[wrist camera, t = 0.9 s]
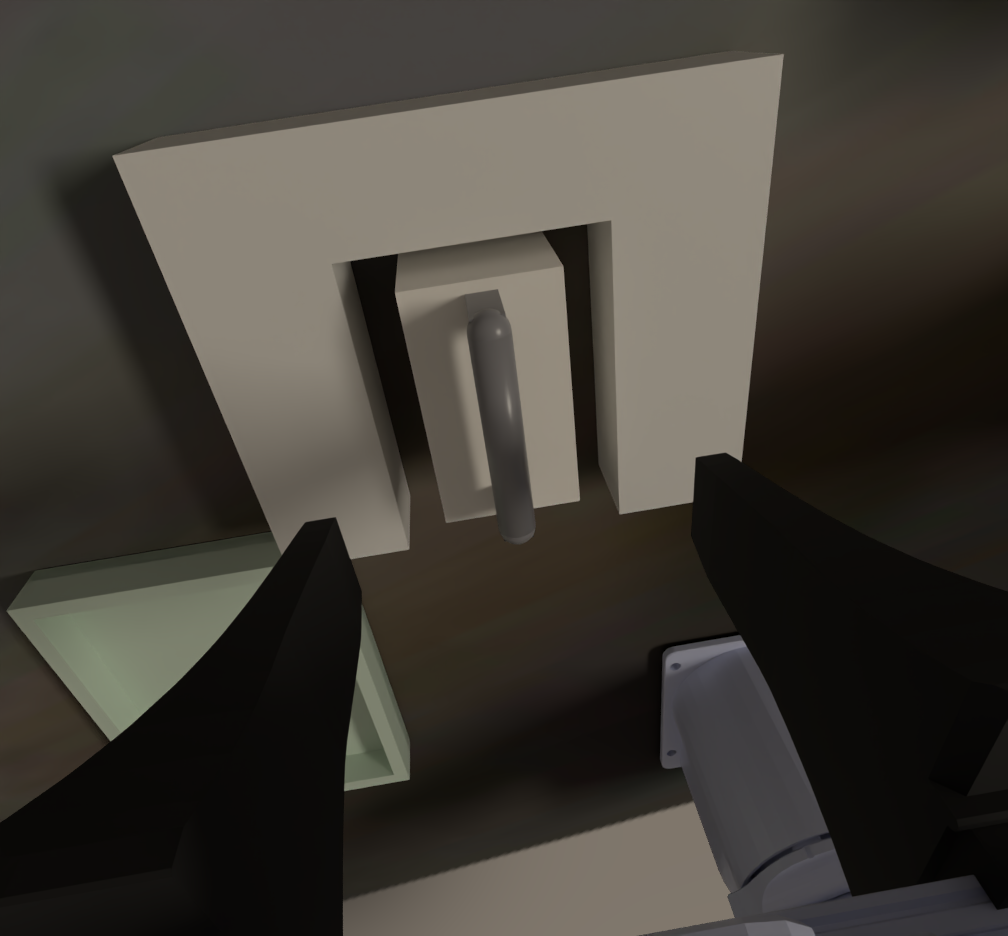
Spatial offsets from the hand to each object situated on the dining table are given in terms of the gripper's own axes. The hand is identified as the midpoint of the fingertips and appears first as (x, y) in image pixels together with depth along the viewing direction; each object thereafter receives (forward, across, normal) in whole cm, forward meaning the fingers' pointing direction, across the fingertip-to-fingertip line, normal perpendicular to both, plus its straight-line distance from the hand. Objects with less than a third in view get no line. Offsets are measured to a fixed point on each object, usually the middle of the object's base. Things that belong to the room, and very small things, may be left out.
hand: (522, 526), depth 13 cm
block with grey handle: (+10, 0, 0) cm, 10 cm away
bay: (+9, 0, 0) cm, 9 cm away
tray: (+9, +12, +13) cm, 20 cm away
